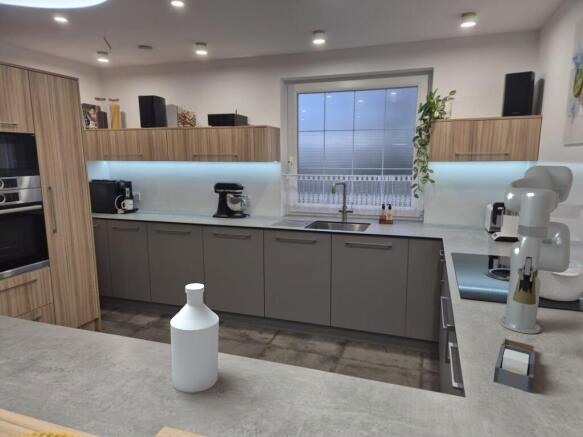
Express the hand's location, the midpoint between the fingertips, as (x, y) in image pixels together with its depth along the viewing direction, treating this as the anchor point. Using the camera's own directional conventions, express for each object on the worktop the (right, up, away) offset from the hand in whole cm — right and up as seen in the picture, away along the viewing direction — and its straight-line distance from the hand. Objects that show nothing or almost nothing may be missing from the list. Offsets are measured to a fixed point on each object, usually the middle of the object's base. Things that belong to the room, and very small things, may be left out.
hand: (525, 290), depth 112 cm
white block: (-11, -22, -12) cm, 27 cm away
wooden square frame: (-1, -20, +2) cm, 20 cm away
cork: (0, -3, 0) cm, 3 cm away
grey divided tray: (-9, -21, -9) cm, 25 cm away
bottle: (-96, -20, -17) cm, 100 cm away
